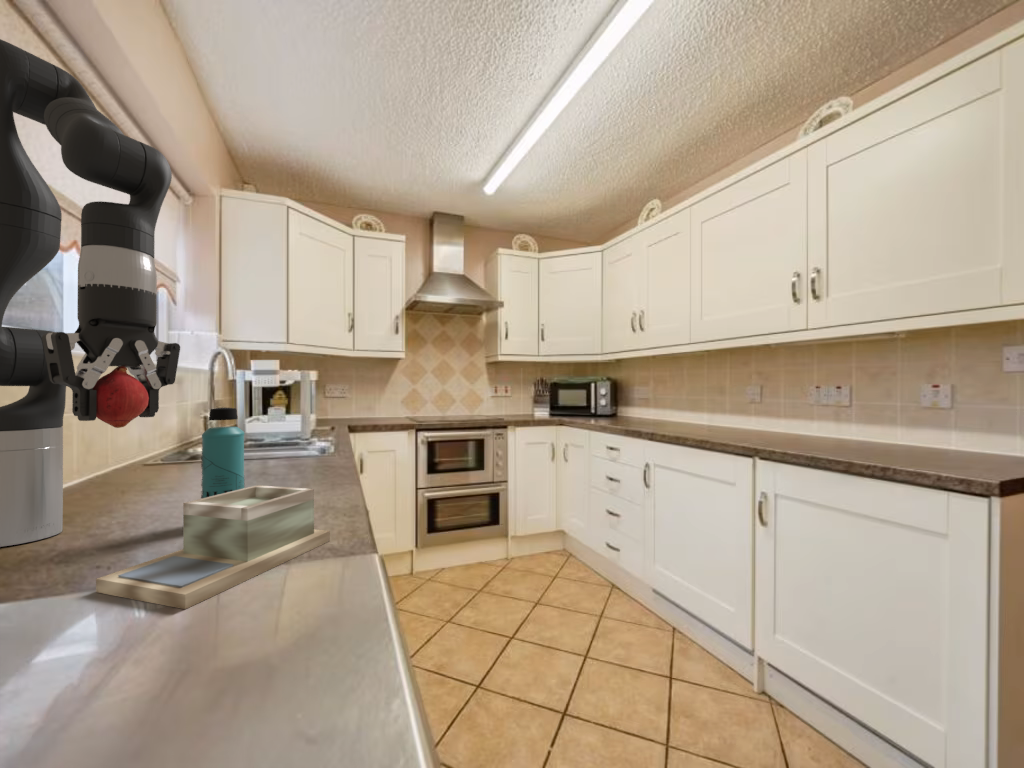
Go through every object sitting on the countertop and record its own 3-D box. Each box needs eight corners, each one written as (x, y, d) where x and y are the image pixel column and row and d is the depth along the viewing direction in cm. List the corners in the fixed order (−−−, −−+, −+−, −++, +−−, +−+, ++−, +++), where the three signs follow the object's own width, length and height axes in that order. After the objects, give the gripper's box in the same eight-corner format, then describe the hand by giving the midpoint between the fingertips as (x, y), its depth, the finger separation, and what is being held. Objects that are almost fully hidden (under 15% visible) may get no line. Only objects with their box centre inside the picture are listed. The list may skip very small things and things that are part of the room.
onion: (110, 430, 52) (111, 363, 52) (73, 429, 53) (74, 365, 53) (159, 426, 57) (159, 366, 58) (124, 425, 59) (125, 367, 59)
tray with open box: (96, 592, 48) (96, 520, 49) (257, 533, 68) (257, 482, 69) (185, 609, 44) (185, 531, 44) (329, 540, 64) (329, 487, 64)
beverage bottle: (240, 514, 79) (240, 406, 80) (250, 522, 75) (249, 407, 75) (197, 522, 75) (197, 408, 75) (204, 531, 70) (204, 408, 70)
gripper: (159, 301, 63) (158, 415, 63) (24, 277, 50) (22, 422, 49) (196, 297, 61) (195, 415, 61) (65, 271, 47) (64, 423, 47)
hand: (118, 418), depth 55 cm, fingers closed on onion, 6 cm apart
